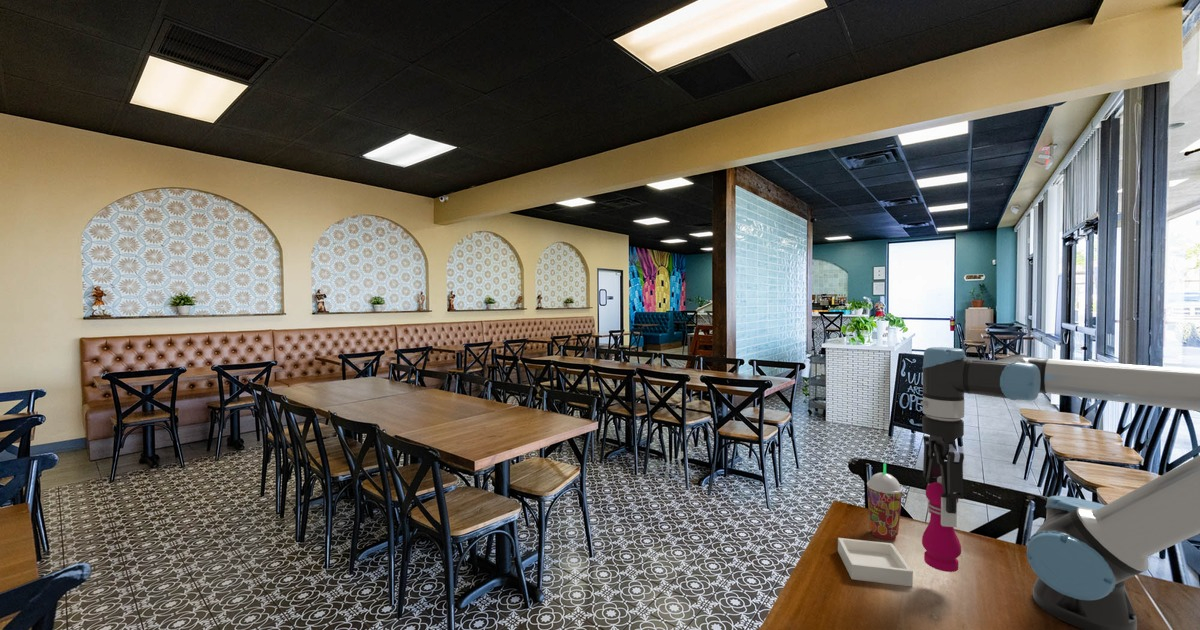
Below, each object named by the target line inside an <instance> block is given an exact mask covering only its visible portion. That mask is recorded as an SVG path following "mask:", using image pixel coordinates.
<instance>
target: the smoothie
mask: <svg viewBox="0 0 1200 630" xmlns="http://www.w3.org/2000/svg"><path fill="white" fill-rule="evenodd" d="M882 468H883V470H882V471H883V472H877V473H875V474H873V475H872V476H871V477H870V478H869V480H868V481H867V482H866V485H867V504H868V508H867V509H868V523H869V525H868V526H869V529H870V530H871V533H872V535H873V536H874V537H876V538H878V539H881V540H885V541H893V540H895V539H896V538H897V536H898V535H899V530H900V528H899V527H900V520H901V519H900V518H901V509H902V496H903V491H904V490H903V487H902V486H901V484H900V482H899V481H898V479H897V478H896V477H894V476H893V475H892V474H890V473H887V463H886V462H885V463H883V467H882Z"/></svg>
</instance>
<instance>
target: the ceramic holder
mask: <svg viewBox="0 0 1200 630" xmlns="http://www.w3.org/2000/svg"><path fill="white" fill-rule="evenodd" d="M837 552H838V554H839V556H840V558H841V560H842V562H843V565H844V566H845V568H846V571H847V573H848V574H849V577H850V578H851V580H856V581H863V582H870V583H871V582H872V583H880V584H889V585H894V586H895V585H896V586H904V587H905V586H906V587H912V588H913V584H914V581H913V578H914V572H913V570H912V568H911V567H910V566H909V564H908V563H907V561H906V560H905V559H904V557H903V556H902V554H901V553H900V552H899V551H898V549H897V547H896V546H895V545H894V543H890V542H883V541H881V542H880V541H873V540H872V541H871V540H862V539H855V538H854V539H853V538H844V537H838V538H837Z"/></svg>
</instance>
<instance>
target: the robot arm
mask: <svg viewBox="0 0 1200 630" xmlns="http://www.w3.org/2000/svg"><path fill="white" fill-rule="evenodd" d="M965 353H966V352H965V350H964V349H962V348H957V347H956V348H955V347H943V346H936V347H935V346H933V347H928V348H926V349H925V350H924V352H923V359H922V360H923V362H922V367H921V368H922V401H920V405H921V406H922V413H923V414H924V415H923V416H922V417H921V420H922V421H921V423H922V425H921V426H922V427H921V428H922V432H923V433H925V434H926V435H923V437H922V439H923V462H922V463H923V464H922V465H923V467H922V476H923V477H924V478H926V479H925V480H926V483H927V486H928V485H929V484H931V483H934V482H937V478H938V477H940V476H941V478H942V486H943V494H940V497H941V525H942V526H947V527H954V528H957V524H958V523H957V522H958V520H957V518H958V515H957V514H958V510H957V509H958V508H957V507H958V503H957V499H958V500H963V499H964V474H963V473H964V469H963V467H964V466H963V464H964V459H965V454H964V452H961V451H960V452H958V449H957V448H958V447H957V444H956V440H957V439H960V438H962V437H963V436H964V432H965V431H964V429H965V428H964V427H965V425H964V424H965V422H964V420H963V418H964V417H965V394H969V395H979V396H985V397H986V396H987V397H995V398H1003V399H1009V400H1012V401H1017V400H1018V401H1019V400H1020V401H1028V402H1029V401H1034V400H1036V399H1037V398H1038V397H1039V394H1049V395H1051V394H1052V395H1060V396H1068V397H1075V398H1085V399H1092V400H1093V399H1094V400H1098V401H1099V400H1100V401H1101V400H1102V401H1108V402H1109V401H1110V402H1116V403H1117V402H1118V403H1124V404H1125V403H1127V404H1134V405H1143V406H1153V407H1159V408H1166V409H1167V408H1168V409H1175V410H1176V409H1177V410H1186V411H1193V412H1200V369H1199V368H1196V369H1195V368H1187V367H1185V368H1184V367H1168V366H1157V365H1145V364H1144V365H1142V364H1129V363H1116V362H1101V361H1099V362H1098V361H1088V360H1077V359H1076V360H1075V359H1074V360H1073V359H1063V358H1062V359H1061V358H1044V357H1031V356H1029V355H1025V354H1012V355H1008V356H1005V357H1004V358H1001V359H997V360H996V359H995V360H989V359H975V358H969V357H967V356H966V355H965ZM929 502H930V501H929V500H928V499H927V507H928V506H929V505H928V503H929ZM1045 508H1046V515H1045V517H1046V518H1045V520H1044V522H1043V523H1042V524H1041V525H1040V526H1039V528H1038V529H1037V530H1036V532H1035V533H1034V534H1032V535H1031V537H1030V538H1029V539H1028V542H1027V546H1026V558H1027V561H1028V564H1029V565H1030V567H1031V569H1032V570H1033V572H1034V574H1035V575H1036V576H1037V578H1036V581H1035V582H1034V583H1033V587H1032V598H1033V600H1034V602H1035V603H1036V604H1037V605H1038V606H1039V607H1040V608H1041V609H1042V610H1044V611H1045V613H1046V612H1047V614H1049V615H1051V616H1053V617H1054V618H1057V619H1058V620H1060V621H1062V622H1064V623H1067V624H1069V625H1071V626H1073V627H1076V628H1079V629H1081V630H1138V619H1137V615H1136V612H1135V610H1134V607H1133V605H1132V602H1131V600H1130V597H1129V595H1128V592H1127V590H1126V580H1128V579H1131V578H1133V577H1135V576H1137V575H1139V574H1142V573H1144V572H1146V571H1148V570H1149V560H1148V559H1149V557H1151V556H1153V555H1155V554H1157V553H1159V552H1162V551H1163V550H1166V549H1169V548H1170V547H1172V546H1175V545H1177V544H1179V543H1182V542H1183V541H1186V540H1188V539H1190V538H1193V537H1195V536H1197V535H1199V534H1200V455H1197V456H1196V457H1194V458H1192V459H1190V460H1188V461H1186V462H1184V463H1182V464H1181V465H1179V466H1177V467H1175V468H1173V469H1172V470H1169V471H1167V472H1165V473H1164V474H1162V475H1160V476H1158V477H1157V478H1155V479H1153V480H1151V481H1149V482H1146V483H1145V484H1143V485H1141V486H1139V487H1137V488H1136V489H1133V490H1132V491H1130V492H1127V493H1126V494H1124V495H1123V496H1120V497H1119V498H1116V499H1114V500H1113V501H1111V502H1110V503H1107V504H1103V503H1099V502H1096V501H1093V500H1092V501H1090V500H1087V499H1083V498H1077V497H1071V496H1063V495H1051V496H1049V497H1048V498H1047V501H1046V505H1045ZM927 513H928V514H930V510H929V509H928V508H927Z"/></svg>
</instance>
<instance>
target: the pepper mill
mask: <svg viewBox="0 0 1200 630" xmlns="http://www.w3.org/2000/svg"><path fill="white" fill-rule="evenodd" d="M928 484H929V483H928ZM928 484H927V485H926V488H925V496H926V498H927V501H928V500H929V501H930V502H929V503H928V502H927V510H928V509H929V510H930V513H929V514H930V515H929V516H930V518H929V522H928V525H927V527H926V528H925V530H924V532H923V534H922V537H921V538H922V539H921V545H922V547H923V548H924V549H925V551H924V553H923V554H924V555H923V561H924V562H925V564H927V566H929V567H931V568H933V569H935V570H937V571H941V572H947V573H954V572H958V570H959V560H958V559H957V558H959V556H961V554H962V545H961V543H960V539H959V537H958V536H957V533H956V531H955V527H947V526H942V525H941V497H940V494H943V486H942V478H941V476H940V477H938V478H937V482H934V483H931V484H929V485H928ZM958 503H959V499H957V504H958ZM928 505H929V506H928Z"/></svg>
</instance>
